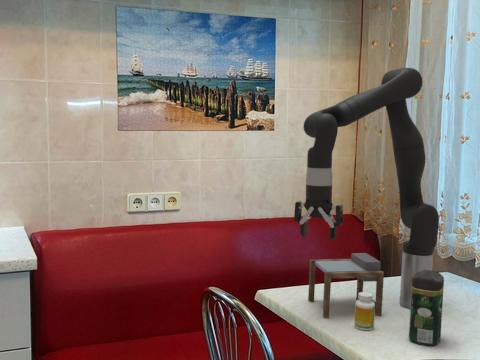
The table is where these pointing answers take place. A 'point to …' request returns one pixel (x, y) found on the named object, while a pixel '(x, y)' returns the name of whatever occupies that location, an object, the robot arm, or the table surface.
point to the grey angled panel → (352, 265)
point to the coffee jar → (426, 307)
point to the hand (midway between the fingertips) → (317, 238)
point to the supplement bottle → (364, 311)
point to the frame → (345, 275)
